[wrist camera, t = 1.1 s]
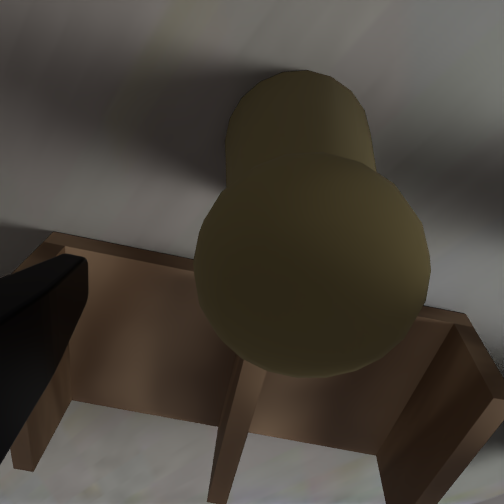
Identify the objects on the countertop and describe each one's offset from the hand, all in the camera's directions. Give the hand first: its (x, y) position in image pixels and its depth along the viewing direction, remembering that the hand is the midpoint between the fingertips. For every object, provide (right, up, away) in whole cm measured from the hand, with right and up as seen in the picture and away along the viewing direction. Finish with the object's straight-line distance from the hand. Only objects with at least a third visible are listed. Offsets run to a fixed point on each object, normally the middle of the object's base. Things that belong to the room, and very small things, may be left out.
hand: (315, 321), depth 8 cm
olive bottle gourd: (+1, +6, +10) cm, 11 cm away
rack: (-2, -4, +16) cm, 16 cm away
